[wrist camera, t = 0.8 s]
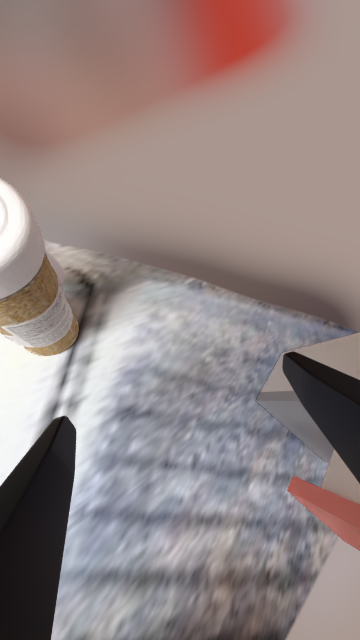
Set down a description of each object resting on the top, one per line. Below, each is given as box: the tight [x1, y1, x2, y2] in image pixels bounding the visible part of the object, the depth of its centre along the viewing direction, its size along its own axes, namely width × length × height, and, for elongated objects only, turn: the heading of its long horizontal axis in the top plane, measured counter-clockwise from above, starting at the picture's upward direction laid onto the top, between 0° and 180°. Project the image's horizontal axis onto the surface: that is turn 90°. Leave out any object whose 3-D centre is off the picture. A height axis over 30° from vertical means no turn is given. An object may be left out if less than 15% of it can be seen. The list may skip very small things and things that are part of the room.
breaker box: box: [256, 332, 360, 463], centre depth 19 cm, size 6×9×11 cm
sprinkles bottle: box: [0, 178, 79, 356], centre depth 13 cm, size 5×5×13 cm
